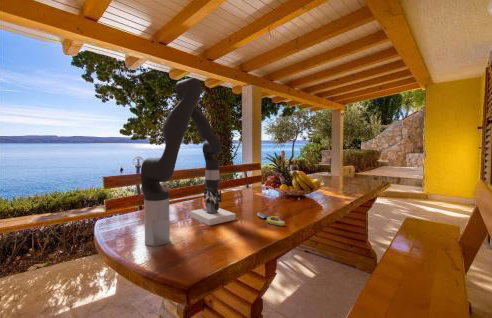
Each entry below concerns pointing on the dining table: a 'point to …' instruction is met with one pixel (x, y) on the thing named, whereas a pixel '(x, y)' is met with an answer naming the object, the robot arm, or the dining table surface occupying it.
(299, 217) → the dining table surface
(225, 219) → the socket plate
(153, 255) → the dining table surface
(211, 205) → the gray knobbed square peg
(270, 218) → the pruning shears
